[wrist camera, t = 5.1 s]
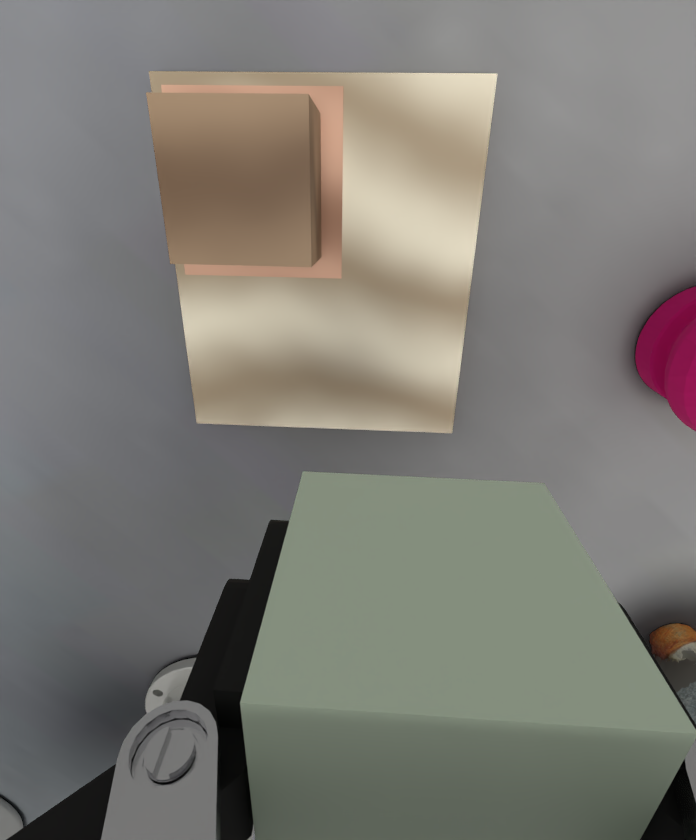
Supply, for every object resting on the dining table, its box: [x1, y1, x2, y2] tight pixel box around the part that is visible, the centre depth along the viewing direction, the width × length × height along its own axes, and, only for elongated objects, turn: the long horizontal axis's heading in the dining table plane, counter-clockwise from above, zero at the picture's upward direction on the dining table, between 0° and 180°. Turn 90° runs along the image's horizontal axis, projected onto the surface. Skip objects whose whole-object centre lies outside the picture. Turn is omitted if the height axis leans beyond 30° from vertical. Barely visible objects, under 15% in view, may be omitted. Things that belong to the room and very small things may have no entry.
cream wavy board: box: [149, 71, 497, 433], centre depth 24 cm, size 17×15×1 cm
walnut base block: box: [146, 93, 322, 267], centre depth 20 cm, size 6×6×4 cm
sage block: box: [240, 471, 696, 840], centre depth 8 cm, size 5×5×5 cm
